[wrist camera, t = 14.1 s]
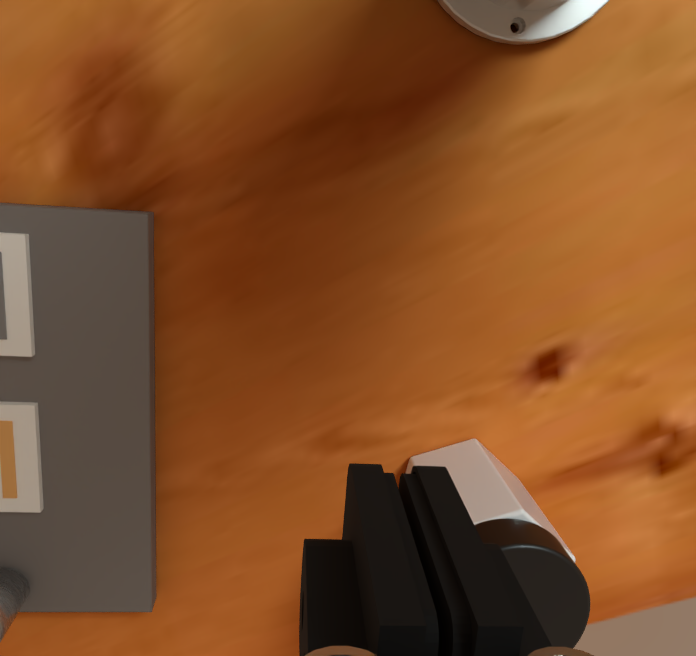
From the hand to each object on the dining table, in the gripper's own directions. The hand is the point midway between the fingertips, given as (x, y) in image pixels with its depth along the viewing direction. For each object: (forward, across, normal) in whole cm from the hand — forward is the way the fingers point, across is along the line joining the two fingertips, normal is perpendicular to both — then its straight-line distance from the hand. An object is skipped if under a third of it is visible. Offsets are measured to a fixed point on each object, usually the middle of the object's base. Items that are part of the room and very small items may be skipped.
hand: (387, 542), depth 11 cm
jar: (+29, -10, +15) cm, 34 cm away
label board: (+29, +19, +10) cm, 36 cm away
